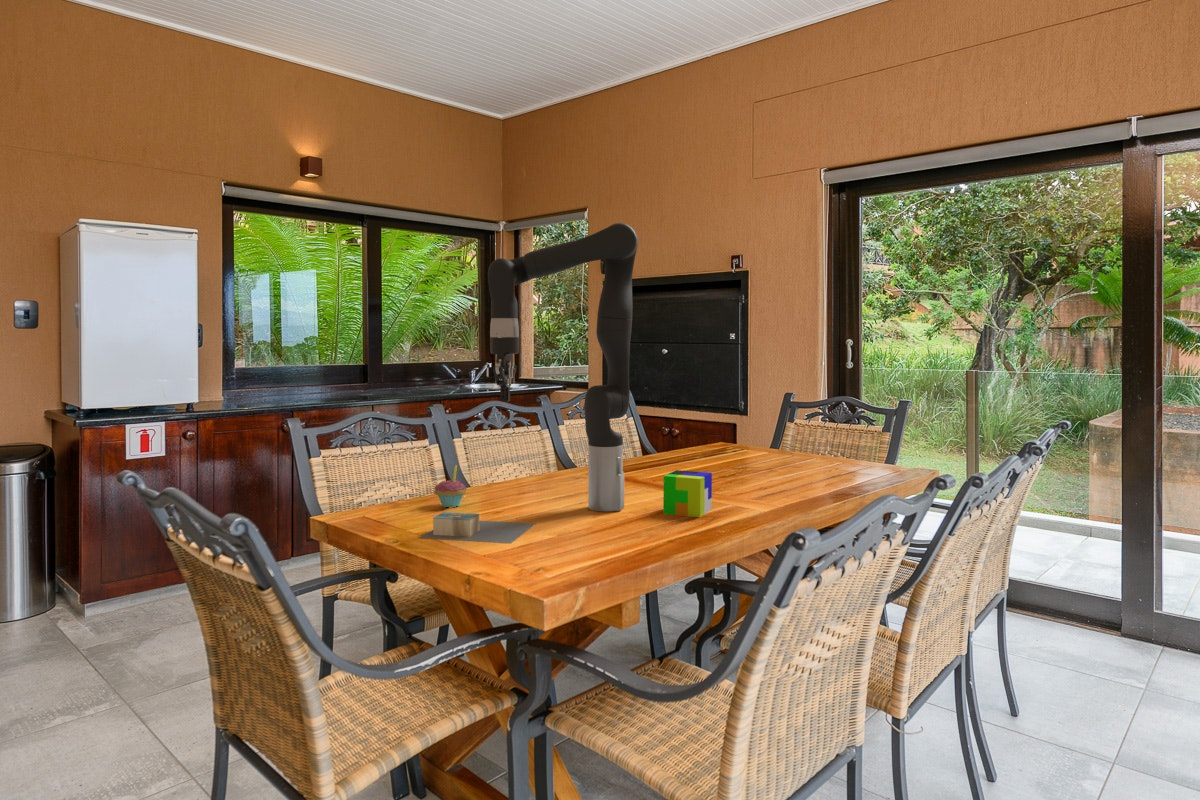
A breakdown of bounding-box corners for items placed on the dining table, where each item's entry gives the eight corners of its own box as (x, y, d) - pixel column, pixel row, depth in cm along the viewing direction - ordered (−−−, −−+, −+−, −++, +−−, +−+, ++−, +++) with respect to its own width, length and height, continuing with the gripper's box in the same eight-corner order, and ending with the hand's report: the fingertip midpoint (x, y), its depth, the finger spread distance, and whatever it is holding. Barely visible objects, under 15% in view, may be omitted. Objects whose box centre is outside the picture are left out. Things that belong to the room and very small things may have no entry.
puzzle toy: (711, 509, 205) (711, 472, 204) (700, 517, 196) (700, 478, 195) (676, 506, 209) (676, 470, 208) (663, 513, 200) (663, 476, 199)
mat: (535, 524, 188) (535, 523, 188) (510, 544, 169) (510, 543, 169) (451, 520, 193) (451, 519, 193) (418, 539, 174) (418, 537, 174)
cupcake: (472, 504, 212) (471, 461, 211) (456, 510, 204) (456, 465, 203) (444, 502, 215) (444, 459, 214) (428, 508, 207) (427, 464, 206)
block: (469, 518, 175) (433, 516, 177) (470, 536, 175) (433, 534, 177) (479, 513, 181) (443, 511, 183) (479, 530, 181) (443, 528, 183)
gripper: (499, 336, 210) (500, 399, 211) (482, 335, 197) (482, 403, 198) (525, 336, 208) (526, 399, 209) (510, 335, 195) (510, 403, 196)
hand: (505, 401), depth 204 cm, fingers closed
